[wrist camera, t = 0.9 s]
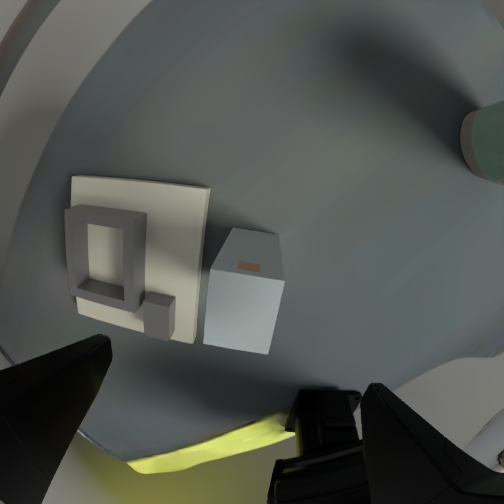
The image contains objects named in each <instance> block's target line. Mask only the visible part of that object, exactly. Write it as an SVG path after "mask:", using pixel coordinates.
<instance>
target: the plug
mask: <svg viewBox="0 0 504 504" xmlns="http://www.w3.org/2000/svg"><path fill="white" fill-rule="evenodd" d="M284 282H285V280H284V272H283V263H282V256H281V248H280V240H279V235H277V234H271V233H265V232H259V231H253V230H247V229H240V228H234V227H233V228H232V230H231V232H230V234H229V235H228V237H227V239H226V241H225V243H224V245H223V246H222V248H221V250H220V252H219V254H218V256H217V257H216V259H215V261H214V263H213V265H212V267H211V268H210V276H209V286H208V296H207V307H206V317H205V329H204V341H203V344H208V345H213V346H219V347H224V348H230V349H236V350H242V351H248V352H255V353H261V354H268V352H269V348H270V344H271V340H272V335H273V331H274V327H275V322H276V318H277V314H278V309H279V305H280V300H281V296H282V291H283V287H284Z"/></svg>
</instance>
